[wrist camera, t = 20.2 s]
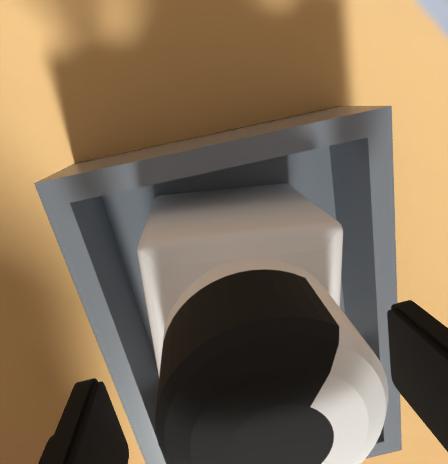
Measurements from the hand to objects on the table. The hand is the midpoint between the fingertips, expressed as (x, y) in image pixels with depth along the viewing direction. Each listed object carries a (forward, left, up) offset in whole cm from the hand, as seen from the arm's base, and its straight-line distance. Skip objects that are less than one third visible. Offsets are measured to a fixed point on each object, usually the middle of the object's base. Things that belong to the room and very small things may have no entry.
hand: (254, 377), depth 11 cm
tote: (-3, -1, -10) cm, 10 cm away
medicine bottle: (+1, 0, -9) cm, 9 cm away
